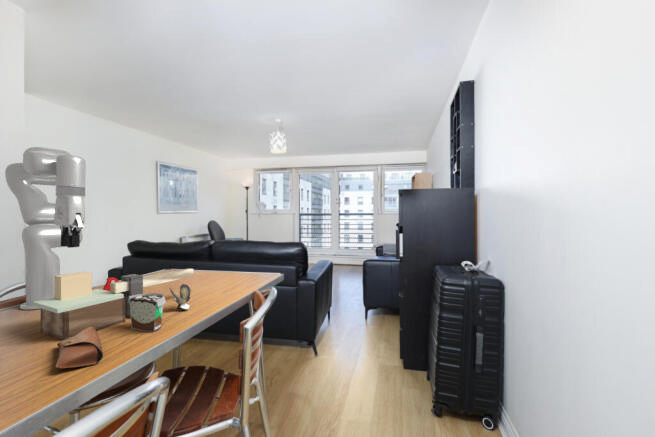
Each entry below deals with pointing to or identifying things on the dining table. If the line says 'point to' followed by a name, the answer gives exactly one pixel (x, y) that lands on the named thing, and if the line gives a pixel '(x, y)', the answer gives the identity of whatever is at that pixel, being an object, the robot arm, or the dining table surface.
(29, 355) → the dining table surface
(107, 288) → the tracker holder
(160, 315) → the food container
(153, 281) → the cream wooden bar
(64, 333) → the toolbox
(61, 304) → the lid
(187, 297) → the eagle figurine
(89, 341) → the sunglasses case
